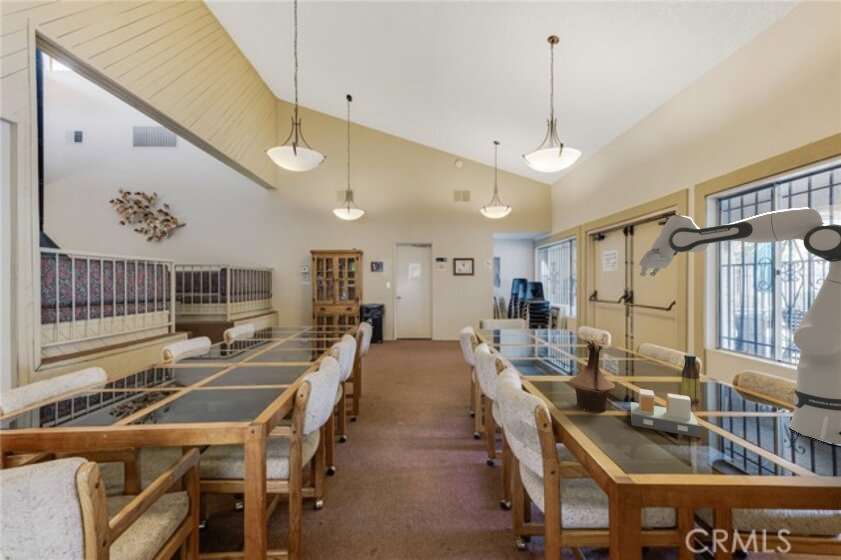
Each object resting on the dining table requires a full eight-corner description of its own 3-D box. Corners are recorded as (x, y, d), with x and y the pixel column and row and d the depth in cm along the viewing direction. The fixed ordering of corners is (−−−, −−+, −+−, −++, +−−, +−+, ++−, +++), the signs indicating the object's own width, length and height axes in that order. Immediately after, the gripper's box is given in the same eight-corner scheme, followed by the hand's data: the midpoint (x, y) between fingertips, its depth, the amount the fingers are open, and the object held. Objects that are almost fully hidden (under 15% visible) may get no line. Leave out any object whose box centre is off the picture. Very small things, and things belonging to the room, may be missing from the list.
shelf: (691, 419, 135) (691, 408, 135) (700, 438, 120) (701, 426, 120) (630, 409, 145) (630, 399, 145) (631, 425, 130) (632, 414, 130)
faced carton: (652, 408, 138) (652, 390, 138) (654, 414, 132) (654, 396, 132) (638, 406, 140) (639, 388, 140) (639, 412, 134) (640, 393, 134)
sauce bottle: (693, 398, 157) (694, 353, 157) (703, 403, 151) (704, 357, 151) (677, 397, 158) (678, 353, 157) (686, 403, 152) (687, 356, 151)
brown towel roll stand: (621, 418, 136) (622, 345, 135) (573, 414, 139) (574, 343, 139) (607, 401, 153) (608, 336, 152) (565, 398, 157) (565, 335, 156)
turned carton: (690, 419, 128) (690, 400, 127) (667, 415, 131) (667, 396, 131) (688, 415, 132) (688, 396, 131) (665, 411, 135) (666, 393, 135)
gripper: (658, 251, 155) (642, 279, 160) (679, 252, 166) (663, 278, 171) (645, 245, 159) (629, 272, 165) (666, 246, 170) (651, 272, 176)
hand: (647, 275), depth 168 cm, fingers open, 8 cm apart
